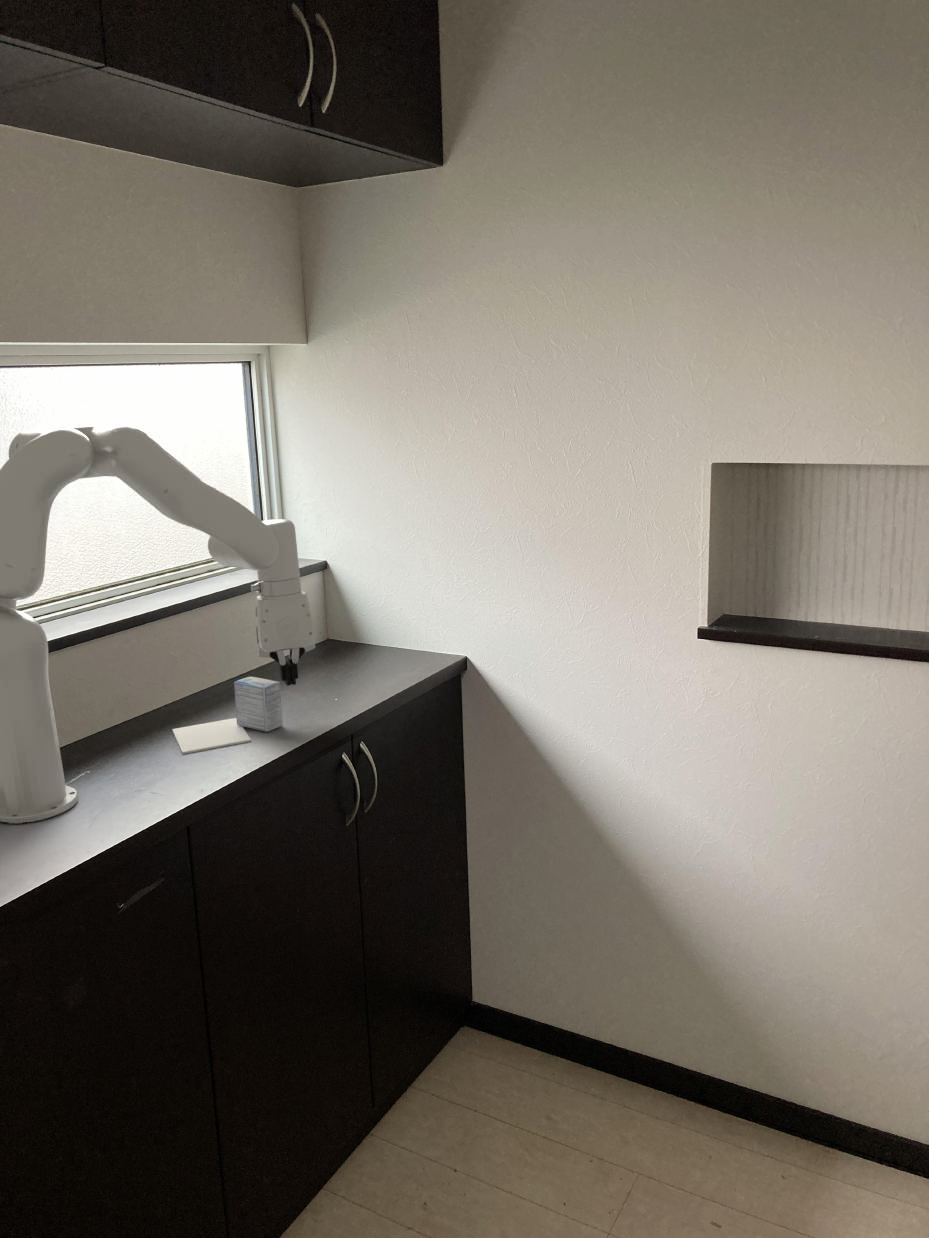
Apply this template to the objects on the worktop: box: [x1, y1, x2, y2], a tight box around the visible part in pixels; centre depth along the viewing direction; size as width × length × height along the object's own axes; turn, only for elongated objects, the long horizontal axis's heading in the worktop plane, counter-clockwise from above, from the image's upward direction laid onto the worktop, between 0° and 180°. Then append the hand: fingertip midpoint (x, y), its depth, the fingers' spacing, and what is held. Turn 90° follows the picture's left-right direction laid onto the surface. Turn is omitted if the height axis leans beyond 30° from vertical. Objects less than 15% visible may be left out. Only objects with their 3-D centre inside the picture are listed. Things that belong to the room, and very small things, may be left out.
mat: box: [172, 717, 252, 755], centre depth 187 cm, size 12×14×1 cm
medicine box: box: [233, 676, 284, 732], centre depth 189 cm, size 8×4×9 cm, turn 56°
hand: (290, 683), depth 191 cm, fingers closed
